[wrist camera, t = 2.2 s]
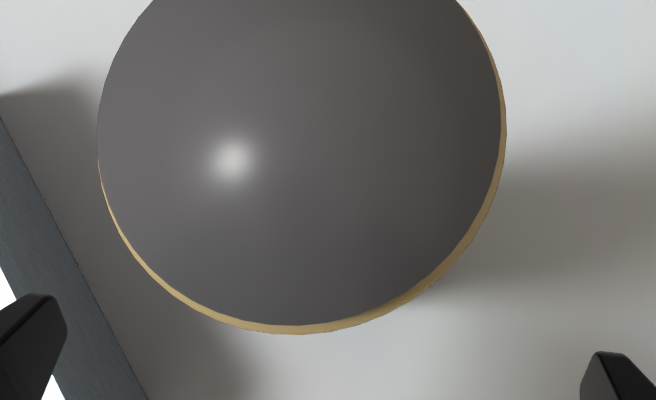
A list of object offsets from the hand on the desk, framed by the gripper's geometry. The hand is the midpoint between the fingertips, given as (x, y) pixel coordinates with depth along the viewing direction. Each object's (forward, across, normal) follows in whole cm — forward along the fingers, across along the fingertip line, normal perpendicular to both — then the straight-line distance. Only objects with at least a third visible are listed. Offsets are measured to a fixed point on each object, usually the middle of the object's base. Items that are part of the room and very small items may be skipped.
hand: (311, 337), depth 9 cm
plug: (+9, 0, +6) cm, 11 cm away
